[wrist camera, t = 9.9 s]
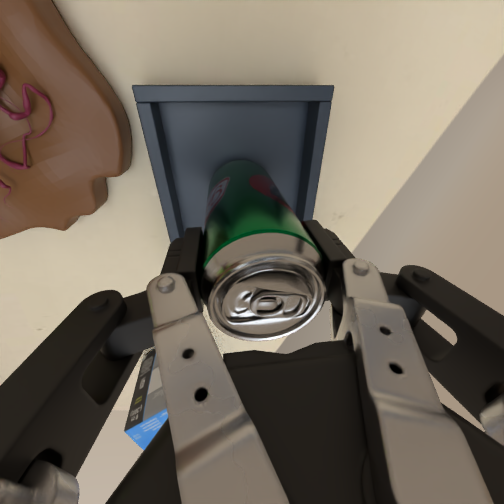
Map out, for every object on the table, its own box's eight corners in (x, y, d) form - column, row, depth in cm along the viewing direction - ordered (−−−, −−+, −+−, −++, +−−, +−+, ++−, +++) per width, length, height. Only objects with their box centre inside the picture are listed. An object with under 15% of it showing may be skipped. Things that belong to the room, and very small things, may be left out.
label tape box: (188, 324, 28) (172, 454, 17) (212, 337, 30) (209, 460, 20) (142, 355, 30) (104, 485, 20) (166, 365, 32) (143, 488, 22)
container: (144, 86, 14) (130, 84, 12) (318, 86, 15) (334, 85, 13) (182, 258, 22) (178, 275, 20) (297, 250, 23) (305, 265, 21)
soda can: (210, 153, 16) (196, 241, 6) (278, 162, 17) (360, 251, 7) (207, 217, 19) (194, 349, 9) (265, 222, 20) (312, 346, 10)
